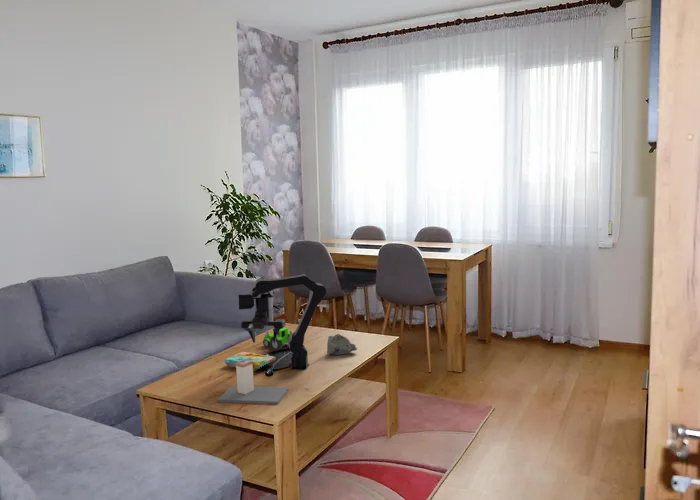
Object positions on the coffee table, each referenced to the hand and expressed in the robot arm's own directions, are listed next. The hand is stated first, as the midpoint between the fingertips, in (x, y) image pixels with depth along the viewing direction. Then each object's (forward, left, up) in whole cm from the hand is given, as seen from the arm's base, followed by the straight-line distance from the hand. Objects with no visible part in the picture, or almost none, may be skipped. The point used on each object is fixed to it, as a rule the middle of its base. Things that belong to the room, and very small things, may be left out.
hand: (264, 342), depth 242 cm
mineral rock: (-29, -25, -13) cm, 40 cm away
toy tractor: (+5, -35, -13) cm, 37 cm away
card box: (0, +25, -12) cm, 28 cm away
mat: (-4, +27, -13) cm, 30 cm away
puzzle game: (+10, -7, -14) cm, 18 cm away
